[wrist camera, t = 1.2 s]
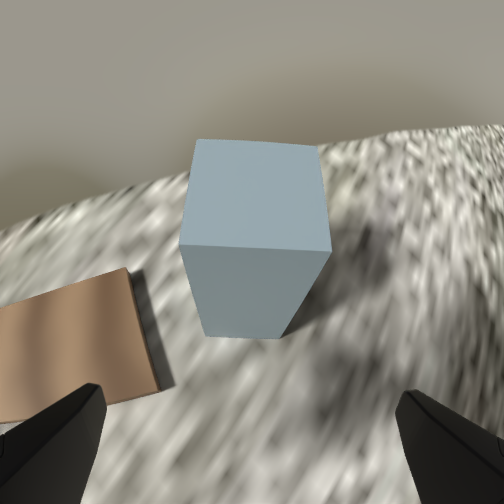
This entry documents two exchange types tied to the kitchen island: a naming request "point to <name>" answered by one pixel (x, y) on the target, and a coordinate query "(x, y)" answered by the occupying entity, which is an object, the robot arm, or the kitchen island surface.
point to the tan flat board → (73, 346)
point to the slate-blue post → (253, 234)
